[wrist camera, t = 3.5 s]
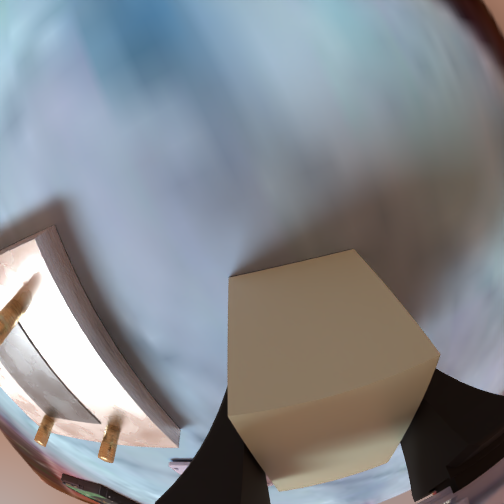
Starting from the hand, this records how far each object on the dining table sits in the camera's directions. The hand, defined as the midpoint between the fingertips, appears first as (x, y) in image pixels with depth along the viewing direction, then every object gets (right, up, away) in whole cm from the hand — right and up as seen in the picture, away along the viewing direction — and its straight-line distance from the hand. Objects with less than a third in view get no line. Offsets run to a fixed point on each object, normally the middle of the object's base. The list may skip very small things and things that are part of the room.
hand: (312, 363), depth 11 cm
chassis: (-16, -2, +2) cm, 16 cm away
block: (0, +1, +1) cm, 2 cm away
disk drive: (-30, -40, +19) cm, 54 cm away
